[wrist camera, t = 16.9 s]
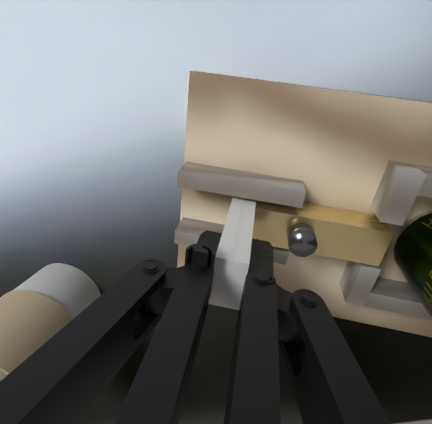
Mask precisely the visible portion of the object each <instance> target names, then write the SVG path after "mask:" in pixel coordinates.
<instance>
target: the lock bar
mask: <svg viewBox="0 0 432 424" xmlns="http://www.w3.org/2000/svg"><path fill="white" fill-rule="evenodd" d="M255 202H256V206H255V216H254V225H253V235H252V238H253V239H258V240H264V241H269V242H270V244H271V245H272V246H273V247H278V248H284V249H289V250H290V252H291V253H292V254H294V255H296V256H299V257H307V256H310V255H312V254H315V255H321V256H326V257H331V258H336V259H342V260H347V261H352V262H358V263H363V264H368V265H373V266H379V265H380V263H381V261H382V258H383V256H384V254H385V252H386V250H387V248H388V246H389V244H390V241H391V239H392V237H393V235H394V232H393V230H392V229H391V228H390V227H389V225H388V224H387V223H384V222H380V220H379V219H378V218H377V216H376V215H374V214H368V213H362V212H357V211H351V210H345V209H339V208H333V207H328V206H322V205H316V204H310V203H305V202H303V206H302V208H298V207H292V206H287V205H281V204H275V203H270V202H264V201H258V200H255Z"/></svg>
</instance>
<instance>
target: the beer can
mask: <svg viewBox="0 0 432 424" xmlns="http://www.w3.org/2000/svg"><path fill="white" fill-rule="evenodd" d="M394 259H395V261H396V263H397V265H398V267H399V269H400V270H401V272H402V274H403V275H404V277H405V278H406V280H407V281H408V283H409V284H410V286H411V287H412V289H413V290H414V292H415V293H416V295H417V296H418V298H419V299H420V301H421V303H422V304H423V306H424V307H425V309H426V310H427V312H428V313H429V315H430V316H431V318H432V210H429V211H427V212H424V213H422V214H419V215H417V216H415V217H414V218H412V219H411V220H410V221H408V222H407V223H406V224H405V225H404V226H403V227H402V229H401V230H400V231H399V232H398V235H397V238H396V240H395V244H394Z"/></svg>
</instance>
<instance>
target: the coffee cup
mask: <svg viewBox="0 0 432 424" xmlns="http://www.w3.org/2000/svg"><path fill="white" fill-rule="evenodd" d="M99 296H101V294H100V291H99V289H98V287H97V285H96V284H95V283H94V281H93V280H92V279H91V278H90V277H89V276H88V275H87V274H85V273H84V272H83V271H81V270H79V269H77V268H75V267H73V266H70V265H67V264H61V263H55V264H50V265H47V266H45V267H44V268H43V269H41V270H40V271H39V272H37V273H36V274H34V275H33V276H32V277H30V278H29V279H28V280H26V281H25V282H24V283H22V284H21V285H19V286H18V287H17V288H15V289H14V290H13V291H10V292H8V293H6V294H5V295H3V296H2V297H0V381H1V380H2V379H4V378H5V377H6V376H7V375H8V374H9V373H11V372H12V371H13V370H14V369H15V368H16V367H18V366H19V365H20V364H21V363H22V362H23V361H25V360H26V359H27V358H28V357H29V356H30V355H32V354H33V353H34V352H35V351H36V350H37V349H39V348H40V347H41V346H42V345H43V344H44V343H46V342H47V341H48V340H49V339H50V338H51V337H53V336H54V335H55V334H56V333H57V332H58V331H60V330H61V329H62V328H63V327H64V326H66V325H67V324H68V323H69V322H70V321H71V320H73V319H74V318H75V317H76V316H77V315H78V314H80V313H81V312H82V311H83V310H84V309H85V308H87V307H88V306H89V305H90V304H91V303H92V302H94V301H95V300H96V299H97V298H98V297H99Z"/></svg>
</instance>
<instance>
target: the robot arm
mask: <svg viewBox="0 0 432 424" xmlns="http://www.w3.org/2000/svg"><path fill="white" fill-rule="evenodd" d="M255 206H256V202H255V201H249V200H244V199H238V198H232V202H231V205H230V209H229V212H228V215H227V219H226V222H225V226H224V229H223V232H222V233H218V232H213V231H208V230H206V231H204V232H203V233H202V234H200V237H199V239H198V241H197V244H192V245H190V246H188V247H187V248H186V253H185V264H184V266H181V267H178V268H166V265H165V264H164V263H163V262H162V261H160V260H156V259H147V260H143V261H141V262H139V263H138V264H137V265H136V266H134V267H133V268H132V269H131V270H130V271H129V272H127V273H126V274H125V275H124V276H123V277H122V278H120V279H119V280H118V281H117V282H116V283H115V284H113V285H112V286H111V287H110V288H109V289H108V290H106V291H105V292H104V293H103V294H102V295H101V296H99V297H98V298H97V299H96V300H95V301H94V302H92V303H91V304H90V305H89V306H88V307H87V308H85V309H84V310H83V311H82V312H81V313H80V314H78V315H77V316H76V317H75V318H74V319H73V320H71V321H70V322H69V323H68V324H67V325H66V326H64V327H63V328H62V329H61V330H60V331H58V332H57V333H56V334H55V335H54V336H53V337H51V338H50V339H49V340H48V341H47V342H46V343H44V344H43V345H42V346H41V347H40V348H39V349H37V350H36V351H35V352H34V353H33V354H32V355H30V356H29V357H28V358H27V359H26V360H25V361H23V362H22V363H21V364H20V365H19V366H18V367H16V368H15V369H14V370H13V371H12V372H11V373H9V374H8V375H7V376H6V377H5V378H4V379H2V380H1V381H0V424H77V423H78V422H79V421H80V419H81V418H82V417H83V416H84V414H85V413H86V412H87V411H88V409H89V408H90V407H91V406H92V404H93V403H94V402H95V401H96V399H97V398H98V397H99V396H100V394H101V393H102V392H103V391H104V389H105V388H106V387H107V386H108V384H109V383H110V382H111V381H112V379H113V378H114V377H115V376H116V374H117V373H118V372H119V371H120V369H121V368H122V367H123V366H124V364H125V363H126V362H127V361H128V359H129V358H130V357H131V356H132V354H133V353H134V352H135V351H136V349H137V348H138V347H139V346H140V344H141V343H142V342H143V341H144V339H145V338H146V337H147V336H148V334H149V333H150V332H151V331H152V329H153V328H154V327H155V326H156V324H157V323H158V322H159V323H158V326H157V328H156V330H155V332H154V335H153V337H152V339H151V342H150V344H149V346H148V348H147V351H146V353H145V355H144V358H143V360H142V362H141V364H140V367H139V369H138V371H137V373H136V376H135V378H134V380H133V383H132V385H131V387H130V389H129V392H128V394H127V396H126V399H125V401H124V403H123V405H122V408H121V410H120V412H119V414H118V417H117V419H116V421H115V423H114V424H178V423H179V419H180V415H181V411H182V407H183V403H184V399H185V396H186V392H187V388H188V384H189V380H190V376H191V372H192V368H193V365H194V361H195V357H196V353H197V349H198V345H199V341H200V337H201V333H202V330H203V326H204V322H205V318H206V314H207V309H208V303H209V304H213V305H217V306H222V307H226V308H231V309H236V310H239V315H238V320H237V324H236V329H235V331H236V335H235V343H234V350H233V358H232V365H231V373H230V380H229V388H228V395H227V403H226V410H225V418H224V424H281V421H280V387H279V352H278V339H279V344H280V347H281V351H282V354H283V357H284V360H285V364H286V367H287V370H288V374H289V377H290V380H291V383H292V387H293V390H294V393H295V397H296V400H297V403H298V407H299V410H300V413H301V416H302V420H303V423H304V424H391V423H390V421H389V419H388V418H387V416H386V414H385V412H384V410H383V408H382V407H381V405H380V403H379V401H378V399H377V397H376V396H375V394H374V392H373V390H372V388H371V386H370V385H369V383H368V381H367V379H366V377H365V375H364V374H363V372H362V370H361V368H360V366H359V364H358V363H357V361H356V359H355V357H354V355H353V353H352V351H351V350H350V348H349V346H348V344H347V342H346V340H345V339H344V337H343V335H342V333H341V331H340V329H339V328H338V326H337V324H336V322H335V320H334V318H333V317H332V315H331V313H330V311H329V309H328V307H327V306H326V304H325V302H324V300H323V299H322V298H321V296H319V295H318V294H317V293H315V292H313V291H311V290H307V289H298V290H296V291H294V293H291V292H289V291H286V290H285V289H283V288H281V287H280V286H279V285H278V284H277V283H276V279H275V278H274V271H273V247H272V245H271V244H270V242H269V241H264V240H258V239H253V238H252V235H253V225H254V216H255Z"/></svg>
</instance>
